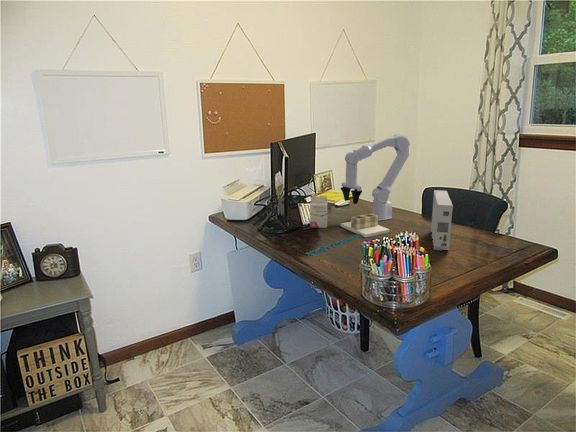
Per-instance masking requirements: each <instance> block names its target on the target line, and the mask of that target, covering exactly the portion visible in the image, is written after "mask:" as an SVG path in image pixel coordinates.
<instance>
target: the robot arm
mask: <svg viewBox="0 0 576 432" xmlns="http://www.w3.org/2000/svg"><path fill="white" fill-rule="evenodd" d="M410 145H411V143H410V140H409V138H408V137H407V136H406V135H400V134H399V133H398V134H397V133H396V134H394V135H391V136H388V137H386V138H384V139H382V140H380V141H378V142H376V143H374V144H372V145H367V144H366V145H365V144H363V145H361V147H360V148H357V149H353V150H352V151H348V152H347V153H346V154H345V156H344V160H345V181H343V182H341V187H340V190H341V192H342V194H343V195H342V196H343V200H344V201H345V202H348V201H350V193H351V194H352V195H351V196H352V203H353V205H357V204H358V202H359V199H360V196H361V194H362V193H363V190H362V186H360V185H359V184H358V163H359V162H360V161H362V160H365V159H366V158H369V157H372V155H373V153H375V152H376V151H377V152H378V151H379V150H382V149H385V148H387V147H392V148H394V150H395V153H396V157H395V158H394V160H393V161H392V164H391V165H390V167H389V169H388V170H387V172H386V173H385V175H384V177H383V179H382V180H381V182H380V183H379V184H378V185H377V186H376V187H375V188H373V190H372V191H371V192H372V193H371V195H372V198H373V200H372V214H374V215H377V216H378V222H380V221H385V220H386V221H387V220H391V219H393V217H392V215H393V205H392V203H391V201H389V198H390V193H391V191H392V189H391V187H392V186H393V184H394V183H395V181H396V178H397V177H398V176H399V173H400V171H402V169H403V167H404V165H405V163H406V162H407V160H408V158H409V155H410Z"/></svg>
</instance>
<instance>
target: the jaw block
mask: <svg viewBox="0 0 576 432" xmlns="http://www.w3.org/2000/svg"><path fill="white" fill-rule="evenodd" d="M350 218H351V219H350V222H351V227H352V228H354V229H357V230H359V229H364V228H369V227H374V226H378V225H379V221H378V216H377V215H374V214H373V212H372V213H366V214H360V215H355V216H351V217H350Z"/></svg>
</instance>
